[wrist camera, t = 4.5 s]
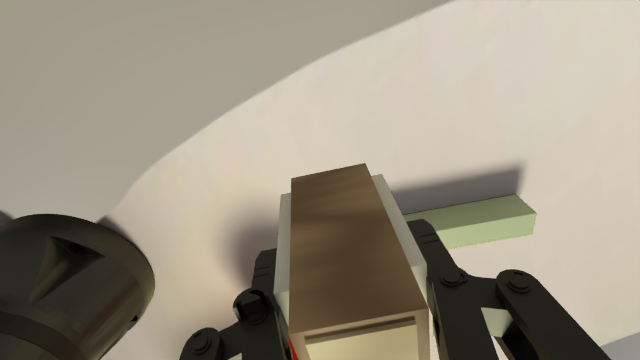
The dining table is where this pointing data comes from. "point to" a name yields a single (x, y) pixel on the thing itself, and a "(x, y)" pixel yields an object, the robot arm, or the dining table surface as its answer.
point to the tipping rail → (480, 221)
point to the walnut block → (350, 274)
